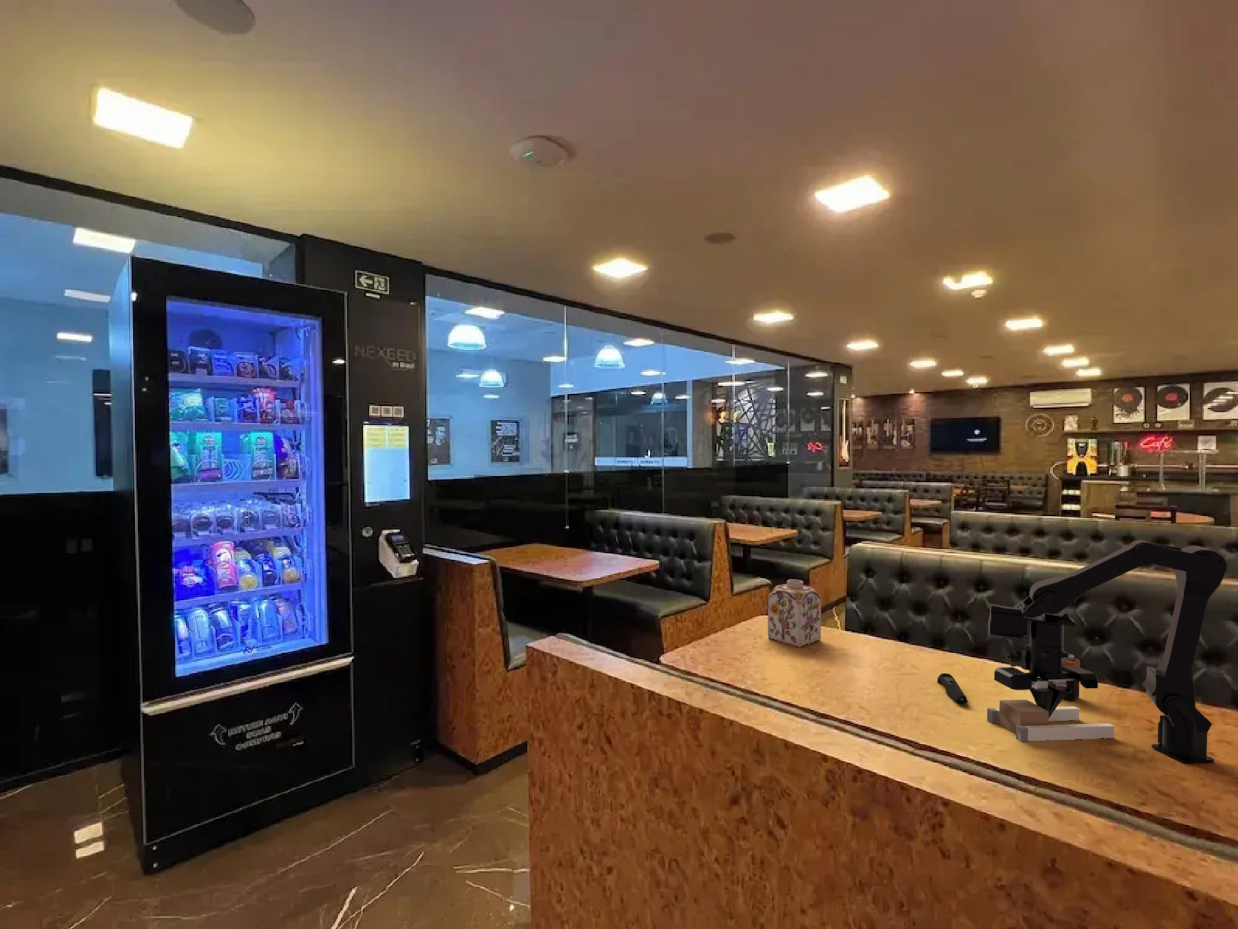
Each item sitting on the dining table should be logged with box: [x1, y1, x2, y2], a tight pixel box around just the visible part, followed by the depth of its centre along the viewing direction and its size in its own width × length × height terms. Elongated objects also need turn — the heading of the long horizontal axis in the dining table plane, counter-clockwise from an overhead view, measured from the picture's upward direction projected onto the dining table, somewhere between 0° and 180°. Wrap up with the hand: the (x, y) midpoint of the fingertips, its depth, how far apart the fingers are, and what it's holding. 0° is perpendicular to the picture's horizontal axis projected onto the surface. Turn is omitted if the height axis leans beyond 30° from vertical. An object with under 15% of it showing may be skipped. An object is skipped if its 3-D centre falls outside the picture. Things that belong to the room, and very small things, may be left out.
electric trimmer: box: [936, 672, 969, 704], centre depth 146 cm, size 4×16×3 cm, turn 165°
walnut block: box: [998, 699, 1049, 735], centre depth 127 cm, size 6×6×5 cm
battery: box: [1063, 653, 1081, 702], centre depth 146 cm, size 4×7×10 cm, turn 37°
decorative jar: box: [767, 578, 822, 648], centre depth 187 cm, size 12×12×18 cm
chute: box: [986, 706, 1115, 743], centre depth 127 cm, size 10×20×3 cm, turn 95°
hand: (1044, 719), depth 127 cm, fingers closed
